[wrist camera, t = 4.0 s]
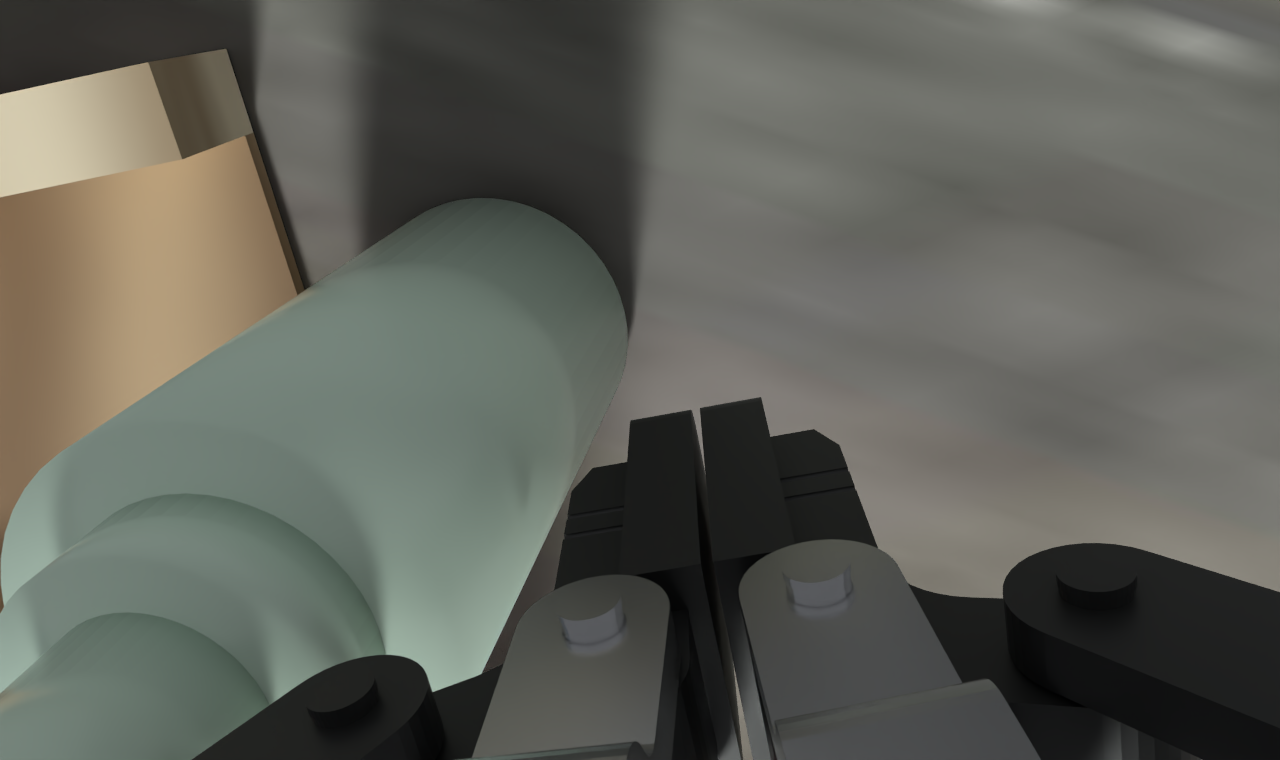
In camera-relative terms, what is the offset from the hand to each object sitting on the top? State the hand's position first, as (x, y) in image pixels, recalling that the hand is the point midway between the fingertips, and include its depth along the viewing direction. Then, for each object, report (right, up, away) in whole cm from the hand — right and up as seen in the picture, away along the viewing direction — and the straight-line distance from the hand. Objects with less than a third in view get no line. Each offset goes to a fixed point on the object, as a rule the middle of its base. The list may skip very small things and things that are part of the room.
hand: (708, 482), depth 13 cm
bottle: (-4, +2, +8) cm, 9 cm away
